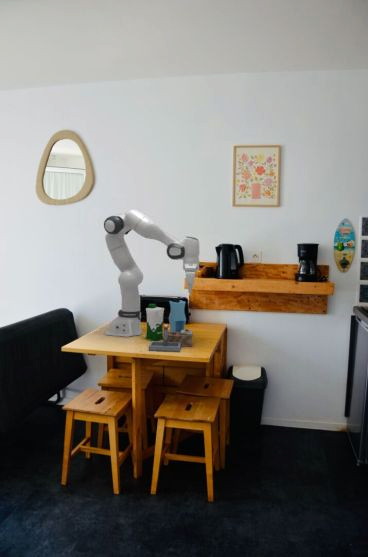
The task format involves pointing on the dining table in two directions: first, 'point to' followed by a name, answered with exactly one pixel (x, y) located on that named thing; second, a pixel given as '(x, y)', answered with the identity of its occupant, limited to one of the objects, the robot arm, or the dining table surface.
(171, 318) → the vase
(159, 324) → the milk carton
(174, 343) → the tray
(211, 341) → the dining table surface
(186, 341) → the tensioner block
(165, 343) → the lock pin
